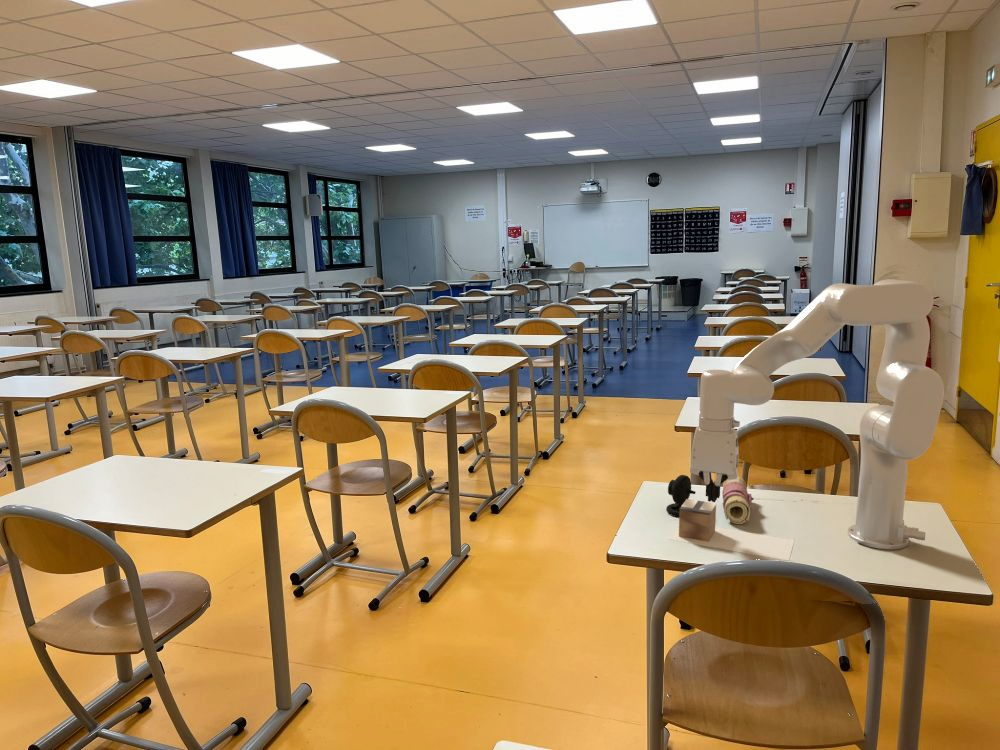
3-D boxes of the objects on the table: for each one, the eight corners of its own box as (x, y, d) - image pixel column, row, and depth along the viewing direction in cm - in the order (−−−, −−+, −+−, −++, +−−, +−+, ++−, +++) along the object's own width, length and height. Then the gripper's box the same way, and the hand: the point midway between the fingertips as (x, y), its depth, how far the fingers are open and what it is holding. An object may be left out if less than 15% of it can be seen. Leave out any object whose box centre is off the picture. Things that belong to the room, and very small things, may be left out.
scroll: (759, 523, 171) (757, 495, 190) (747, 495, 171) (745, 470, 189) (729, 533, 174) (729, 504, 192) (716, 505, 173) (718, 479, 192)
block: (686, 498, 172) (685, 526, 173) (679, 508, 165) (678, 536, 167) (716, 503, 168) (715, 530, 170) (710, 513, 162) (708, 541, 163)
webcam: (674, 504, 188) (675, 468, 186) (701, 511, 183) (702, 474, 181) (660, 513, 182) (661, 476, 180) (687, 520, 177) (688, 482, 176)
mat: (794, 541, 164) (794, 540, 164) (788, 562, 153) (788, 560, 153) (682, 522, 176) (682, 521, 176) (669, 540, 165) (669, 539, 165)
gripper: (752, 423, 161) (748, 499, 165) (686, 417, 168) (684, 490, 172) (747, 431, 155) (743, 510, 158) (679, 424, 162) (676, 500, 165)
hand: (712, 499), depth 165 cm, fingers closed
